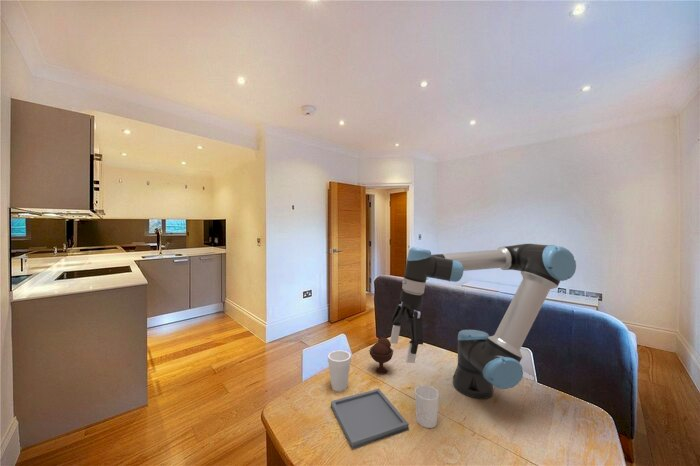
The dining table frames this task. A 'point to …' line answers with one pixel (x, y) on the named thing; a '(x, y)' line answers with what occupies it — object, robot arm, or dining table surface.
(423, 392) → the white cup
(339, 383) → the foam cup
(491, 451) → the dining table surface
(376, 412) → the tray
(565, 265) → the robot arm
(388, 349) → the ice cream bowl
